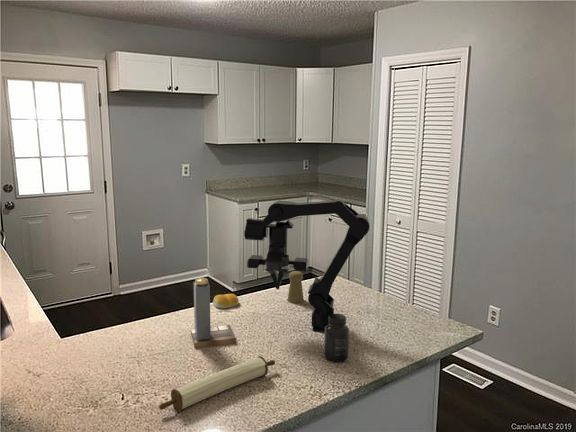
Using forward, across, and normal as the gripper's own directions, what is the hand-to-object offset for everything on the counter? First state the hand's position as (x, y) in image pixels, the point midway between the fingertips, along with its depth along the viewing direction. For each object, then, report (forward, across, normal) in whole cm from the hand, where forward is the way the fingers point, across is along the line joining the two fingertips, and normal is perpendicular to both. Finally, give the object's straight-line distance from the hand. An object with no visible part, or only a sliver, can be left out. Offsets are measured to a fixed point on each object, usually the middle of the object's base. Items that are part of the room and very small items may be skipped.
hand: (277, 288), depth 150 cm
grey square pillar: (+10, -20, -15) cm, 27 cm away
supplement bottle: (+12, +20, -19) cm, 30 cm away
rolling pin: (+12, -6, -41) cm, 43 cm away
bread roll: (+12, -21, +14) cm, 28 cm away
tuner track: (+12, -17, -13) cm, 25 cm away
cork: (+12, +3, +22) cm, 25 cm away
